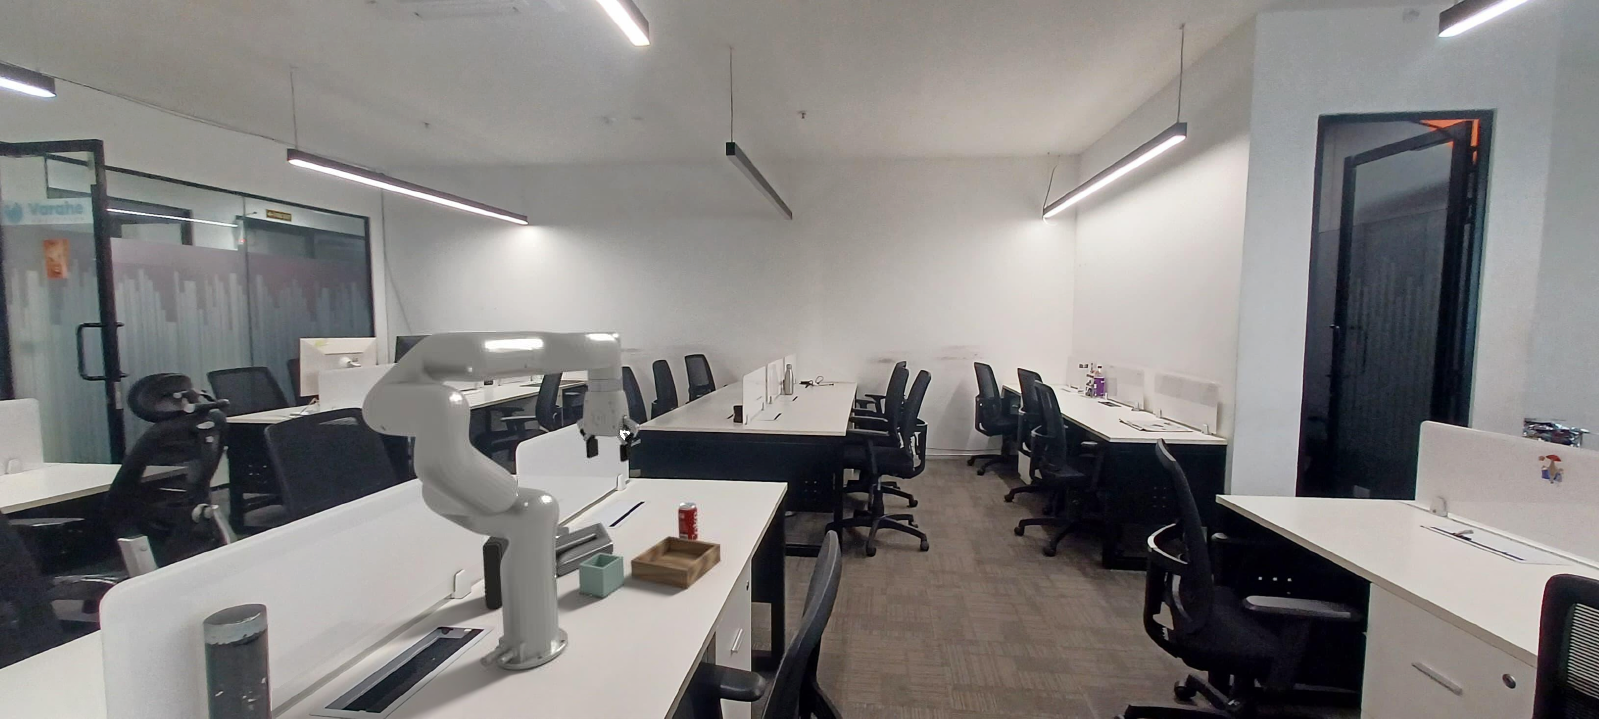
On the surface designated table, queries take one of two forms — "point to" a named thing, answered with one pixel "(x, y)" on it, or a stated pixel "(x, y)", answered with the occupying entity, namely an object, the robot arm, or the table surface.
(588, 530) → the emblem
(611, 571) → the small crate
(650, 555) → the walnut crate
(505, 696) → the table surface
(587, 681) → the table surface
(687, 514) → the soda can
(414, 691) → the table surface
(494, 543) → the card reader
